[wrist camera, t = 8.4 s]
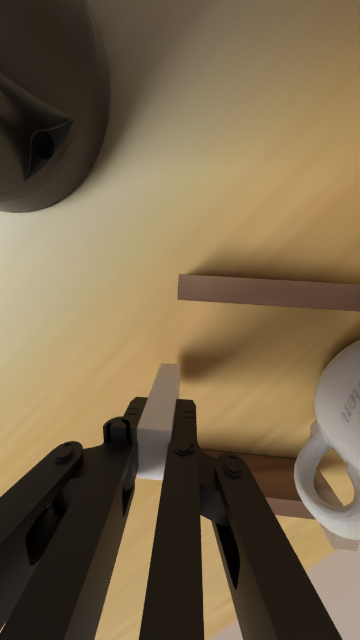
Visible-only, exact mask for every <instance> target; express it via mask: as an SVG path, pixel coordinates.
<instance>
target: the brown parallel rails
mask: <svg viewBox="0 0 360 640" xmlns="http://www.w3.org/2000/svg"><path fill="white" fill-rule="evenodd" d="M178 300H190V301H206V302H222V303H237V304H253V305H268V306H284V307H299V308H315V309H330V310H346V311H360V285H358V284H341V283H324V282H306V281H289V280H271V279H254V278H237V277H219V276H202V275H184V274H179V282H178ZM201 450H202V449H201ZM202 451H204V452H205V453H206V454H208V455H210V456H213V457H215V458H218V457H219V456H220V455H221V454H224V453H231V452H221V451H211V450H202ZM232 454H235V455H237V456H239V457H240V458H242V459H243V460H244V461H245V463H246V464H247V465H248V467H249V469H250V471H251V472H252V474H253V476H254V478H255V480H256V482H257V483H258V485H259V487H260V489H261V491H262V493H263V495H264V496H265V498H266V500H267V502H268V504H269V506H270V507H271V509H272V511H273V513H274V515H281V516H289V517H298V518H306V519H315V517H314V516H313V515H312V514H311V513H310V512H309V510H308V509H307V507H306V506H305V505H304V503H303V501H302V499H301V497H300V496H299V494H298V491H297V488H296V484H295V479H294V467H295V462H296V460H297V459H289V458H279V457H269V456H260V455H250V454H240V453H232ZM313 482H314V489H315V491H316V493H317V495H318V496H319V497H320V498H321V499H322V500H323V501H324V502H326V503H328V504H330V505H332V506H336V507H340V506H343V505H342V503H341V502H340V500H339V499H338V497H337V496H336V494H335V493H334V491H333V490H332V488H331V487H330V485H329V484H328V483H327V481H326V480H325V478H324V477H323V475H322V474H321V472H320V471H319V469H318V468H316V471H315V474H314V481H313ZM315 520H316V519H315ZM320 525H321V527H322V529H323V531H324V532H325V534H326V536H327V538H328V540H329V542H330V544H331V546H332V547H333V548H337V549H345V550H353V551H357V548H358V545H359V542H360V540H354V539H348V538H344V537H341V536H339V535H337V534H335V533H332V532H331V531H329V530H328V529H327V528H325V527H324V526H323V525H322V524H321V523H320Z"/></svg>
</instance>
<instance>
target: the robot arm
mask: <svg viewBox="0 0 360 640" xmlns="http://www.w3.org/2000/svg"><path fill="white" fill-rule="evenodd" d="M108 112H109V76H108V67H107V61H106V56H105V52H104V48H103V44H102V41H101V37H100V34H99V32H98V29H97V26H96V23H95V21H94V18H93V15H92V13H91V10H90V7H89V5H88V2H87V0H0V211H4V212H13V213H20V212H30V211H35V210H39V209H42V208H45V207H47V206H50V205H52V204H54V203H56V202H57V201H59V200H61V199H62V198H63V197H65V196H66V195H67V194H69V193H70V192H71V191H72V190H73V189H74V188H75V187H76V186H77V185H78V184H79V183H80V182H81V181H82V179H83V178H84V177H85V175H86V174H87V173H88V171H89V169H90V168H91V166H92V164H93V162H94V160H95V158H96V156H97V154H98V152H99V149H100V147H101V144H102V141H103V137H104V134H105V130H106V125H107V119H108ZM179 387H180V365H179V364H162V363H161V365H160V368H159V370H158V373H157V376H156V378H155V381H154V384H153V386H152V389H151V392H150V394H149V397H148V398H146V397H136V398H134V399H133V400H132V401H131V402H130V404H129V406H128V408H127V410H126V412H125V414H124V416H123V417H116V418H113V419H111V420H109V421H107V422H106V423H105V424H104V426H103V435H104V443H103V444H102V445H99V446H96V447H92V448H87V449H83V447H82V444H80V443H79V442H76V441H71V442H66V443H63V444H61V445H59V446H58V447H56V448H55V449H53V450H52V451H51V452H50V453H49V454H48V455H47V456H46V457H44V458H43V459H42V460H41V461H40V462H39V463H38V464H37V465H36V466H34V467H33V468H32V469H31V470H30V471H29V472H28V473H27V474H26V475H24V476H23V477H22V478H21V479H20V480H19V481H18V482H17V483H16V484H14V485H13V486H12V487H11V488H10V489H9V490H8V491H7V492H6V493H4V494H3V495H2V496H1V497H0V630H1V628H2V627H3V625H4V624H5V623H6V624H5V626H4V627H3V629H2V631H1V633H0V640H94V639H95V635H96V631H97V628H98V624H99V620H100V616H101V613H102V609H103V605H104V602H105V598H106V594H107V591H108V587H109V583H110V580H111V576H112V572H113V569H114V565H115V561H116V557H117V554H118V550H119V546H120V543H121V539H122V535H123V532H124V528H125V524H126V521H127V517H128V513H129V510H130V506H131V502H132V498H133V495H134V490H135V478H136V474H137V471H138V478H143V479H154V480H163V482H162V489H161V496H160V502H159V509H158V516H157V522H156V529H155V536H154V542H153V549H152V556H151V562H150V569H149V576H148V582H147V589H146V596H145V602H144V609H143V616H142V622H141V629H140V636H139V640H204V619H203V588H202V556H201V525H200V515H202V516H204V517H206V518H207V519H209V520H211V521H212V525H213V529H214V533H215V536H216V540H217V544H218V547H219V551H220V555H221V559H222V562H223V566H224V570H225V573H226V577H227V581H228V585H229V588H230V592H231V596H232V600H233V603H234V607H235V611H236V614H237V618H238V622H239V625H240V629H241V633H242V637H243V640H342V638H341V636H340V634H339V632H338V631H337V629H336V627H335V625H334V623H333V621H332V620H331V618H330V616H329V614H328V612H327V611H326V609H325V607H324V605H323V603H322V601H321V599H320V598H319V596H318V594H317V592H316V590H315V589H314V586H313V585H312V583H311V581H310V579H309V577H308V575H307V574H306V572H305V570H304V568H303V566H302V564H301V563H300V561H299V559H298V557H297V555H296V553H295V552H294V550H293V548H292V546H291V544H290V542H289V540H288V539H287V537H286V535H285V533H284V531H283V529H282V528H281V526H280V524H279V522H278V520H277V518H276V517H275V515H274V513H273V511H272V509H271V507H270V506H269V504H268V502H267V500H266V498H265V496H264V495H263V493H262V491H261V489H260V487H259V485H258V483H257V482H256V480H255V478H254V476H253V474H252V472H251V471H250V469H249V467H248V465H247V464H246V463H245V461H244V460H243V459H242V458H240V457H239V456H237V455H235V454H232V453H224V454H221V455H220V456H219V457H218V458H215V457H213V456H210V455H208V454H206V453H205V452H204V451H202V450H201V448H200V447H199V445H198V443H197V426H196V405H195V403H194V402H193V400H185V399H179ZM6 621H7V622H6Z"/></svg>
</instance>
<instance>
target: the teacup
mask: <svg viewBox="0 0 360 640" xmlns="http://www.w3.org/2000/svg"><path fill="white" fill-rule="evenodd" d="M314 407H315V414H316V417H317V420H316V421H315V422H314V423H313V424H312V425H311V429H310V430H311V435H310V436H309V438H308V439H307V440H306V442H305V444H304V445H303V447H302V449H301V450H300V452H299V454H298V457H297V460H296V462H295V467H294V479H295V484H296V488H297V491H298V494H299V496H300V497H301V499H302V501H303V503H304V505H305V506H306V507H307V509H308V510H309V512H310V513H311V514H312V515H313V516H314V517H315V519H316V520H317V521H318V522H319V523H321V524H322V525H323V526H324V527H325V528H327V529H328V530H329V531H331V532H332V533H335V534H337V535H339V536H341V537H344V538H348V539H354V540H360V340H358V341H356V342H354V343H352V344H351V345H349V346H347V347H346V348H344V349H343V350H342V351H341V352H339V353H338V354H337V355H336V356H335V357H334V358H333V359H332V360H331V361H330V362H329V363H328V365H327V366H326V367H325V369H324V370H323V372H322V374H321V376H320V377H319V380H318V382H317V385H316V389H315V395H314ZM330 449H334V450H335V451H336V452H337V454H338V455H339V456H340V458H341V459H342V460H343V461H344V462H345V464H346V465H347V466H346V470H347V473H348V476H349V477H350V479H351V481H352V483H353V486H354V490H355V495H354V498H353V501H352V502H351V503H350V504H348V505H346V506H340V507H336V506H332V505H330V504H328V503H326V502H324V501H323V500H322V499H321V498H320V497H319V496H318V495H317V493H316V491H315V489H314V482H313V481H314V474H315V471H316V468H317V466H318V464H319V462H320V460H321V459H322V457H323V456H324V455H325V454H326V453H327V452H328V451H329V450H330Z"/></svg>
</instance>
